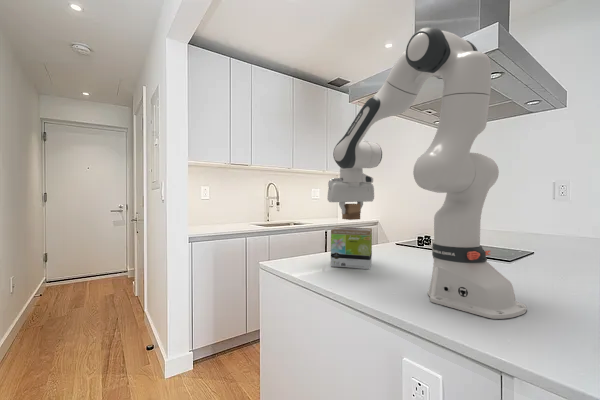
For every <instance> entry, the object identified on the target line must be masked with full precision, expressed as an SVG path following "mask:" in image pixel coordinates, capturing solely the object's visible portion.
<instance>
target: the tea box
mask: <svg viewBox="0 0 600 400" xmlns="http://www.w3.org/2000/svg"><path fill="white" fill-rule="evenodd" d="M372 237H373V228H372V227H370V228H369V227H350V226H348V227H347V226H335V227H333V228H331V230H330V268H332V267H334V268H335V267H336V268H337V267H339V268H349V269H359V270H361V269H362V270H370V268H371V265H372V257H373V255H372V254H373V249H372V248H373V247H372V246H373V238H372Z"/></svg>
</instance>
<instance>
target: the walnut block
mask: <svg viewBox="0 0 600 400" xmlns="http://www.w3.org/2000/svg"><path fill="white" fill-rule="evenodd" d="M344 207H345V209H347V214H342V213H341V214H342V216H341V217H342V220H349V221H352V220H357V221H358V220H361V213H360V204H357V203H345V205H344Z"/></svg>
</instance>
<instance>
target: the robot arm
mask: <svg viewBox="0 0 600 400" xmlns="http://www.w3.org/2000/svg"><path fill="white" fill-rule="evenodd" d="M432 77H435V78H436V79H438V80H440V79H441V80H443V89H442V95H441V106H440V114H439V120H438V126H437V130H436V133H435V134H434V136H433V137H434V138H433V139H432V141H431V143H430V145H429V147H428V148H427V149H426V151H424V153H423V154H421V155H420V156H419V157H418V158H417V160H416V161H415V163H414V166H413V172H412V175H413V179H414V181H415V183H416V185H417V186H418V187H419V188H421V189H423V190H426V191H429V192H433V193H436V194H437V193H439V194H444V193H445V194H446V195H445V199H444V200H443V201H444V202H443V204H442V206H441V207H440V208H439V209H438V210H437V211H436V212H435V214H434V217H433V243H432V245H431V246H432V247H431V250H432V251H431V252H432V253H431V254H432V258H433V263H432V265H433V266H432V274H431V280H430V283H429V284H430V285H429V288H428V291H427V295H428V296H429V297H430V298H429V301H430V302H431V303H432V304H433V303H434V304H437V305H441V306H445V307H448V308H452V309H456V310H459V311H463V312H466V313H470V314H473V315H477V316H480V317H483V318H488V319H494V320H498V319H499V320H502V319H504V320H505V319H511V318H515V317H519V316H522V315H524V314H525V313H526V312H527V305H526V304H525V303H523V302H519V301H517V300H516V295H515V290H514V287H513V283H512V282H511V281H510V280H509V279H508V278H507V277H505V276H504V275H503V274H502V273H501V272H499V270H497V269H496V268H495V267H494V266H492V264H491V263H489V262H488V261H487V260H488V259H487V256H491V252H492V251H491V250H484V248H483V247H482V245H481V218H482V213H483V207H484V204H485V202H486V199H487V198H486V197H487V195H488V194H489V191H490V189H491V188H492V187H493V186H494V185H495V183H496V182H497V181H498V178H499V173H500V171H499V166H498V164H497V163H496V161H495V160H494V159H492V158H490V157H488V156H487V155H484V154H481V153H479V152H471V149H472V146H473V144H474V142H475V140H476V138H477V137H478V136H479V135H480V134H481V133H483V132H484V131H485V129H486V128H487V123H488V117H489V116H488V114H489V107H490V99H491V90H492V66H491V59H490V57H489V56H488V55H487V54H486V53H484V52H482V51H478V48H477V47H476V45H474V44H473V42H471V41H469V40H468V39H467V40H466V39H464V38H462V37H460V36H459V35H457V34H456V33H453V32H450V31H448V30H441V29H440V28H438V27H423V28H420V29H419V30H417V31H416V32H414V34H412V36H411V37H410V39H409V41H408V42H407V45H406V49H405V50H404V51H403V52H402V53H401V54H400V56H399V57H398V58H397V60H396V61H395V63H394V64H393V66H392V68H391V69H390V71H389V73H388V74H387V77H386V79H385V80H384V82H383V84H382V86H381V87H380V88H379V90H377V92H376V93H375V94H374V95H373V96H371V97H370V98H369V99H368V100H366V101H365V103H364V104H363V106H362V107H361V109H360V110H359V111H358V113H357V115H356V116H355V118H354V120H353V121H352V122H351V123H350V124H351V125H350V126H349V128H348V129H347V131H346V132H345V134H344V135H343V136H342V138H341V139H340V140H339V141H338V142H337V144H336V145H335V146H334V148H333V154H332V155H333V157H332V158H333V160H334V162H335V163H336V164H337V166H338V167H339V178H338V177H337V178H336V177H332V178H331V179H329V181H328V186H327V187H328V190H327V201H328V202H329V203H338V206H339V208H340V209H341V214H347V209H345V207H344V205H345V204H346V203H356V204H360V214H361V213H362V212H361V211H362V208H363V206H364V202H365V203H368V202H374V199H375V186H374V184H373V183H374V177H372V176H369V175H367V174H366V173H364V171H363V169H374V168H376V167H378V166H380V164H381V162H382V159H383V151H382V148H381V145H380V144H378V143H377V142H373V141H368V140H365V139H364V137H365V136H366V135H367V133H368V132H369V130H370V128H371V127H372V126H373V125H374V124H375V123H377V122H378V121H380V120H383V119H386V118H391V117H395V116H398V115H401V114H404V113H405V112H407V111H408V110H409V109H410V108H411V106H412V105H413V104H414V102H415V101H416V99H417V96H418V95H419V93H420V91H421V89H422V87H423V85H424V84H425V82H426V81H427V80H428V79H430V78H432Z"/></svg>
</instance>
